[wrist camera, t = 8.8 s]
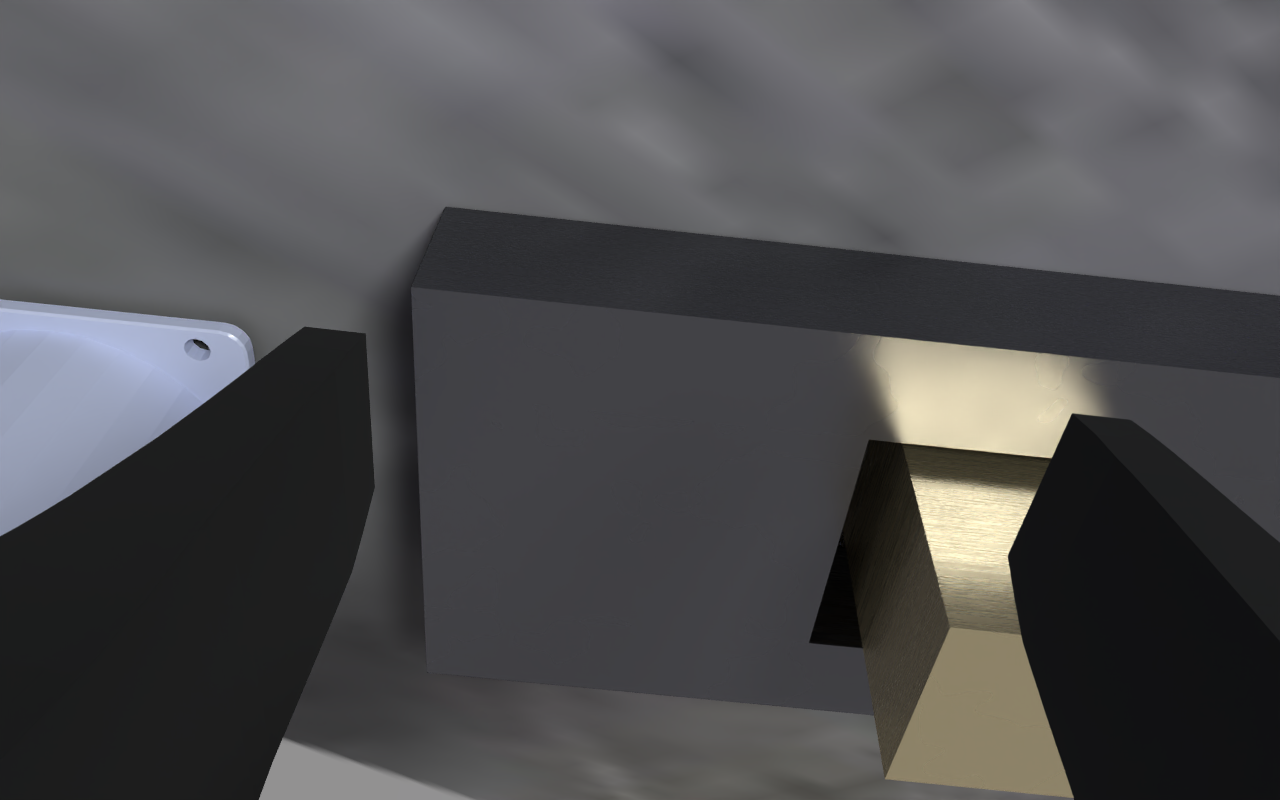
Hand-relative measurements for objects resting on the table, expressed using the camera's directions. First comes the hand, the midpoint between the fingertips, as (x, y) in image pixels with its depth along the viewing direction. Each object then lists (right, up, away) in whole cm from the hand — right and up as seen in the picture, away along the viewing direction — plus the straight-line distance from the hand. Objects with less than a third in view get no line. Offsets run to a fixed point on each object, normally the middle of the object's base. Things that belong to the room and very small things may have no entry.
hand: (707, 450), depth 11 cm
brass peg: (+6, -1, +12) cm, 13 cm away
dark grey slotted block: (+6, -1, +12) cm, 14 cm away
